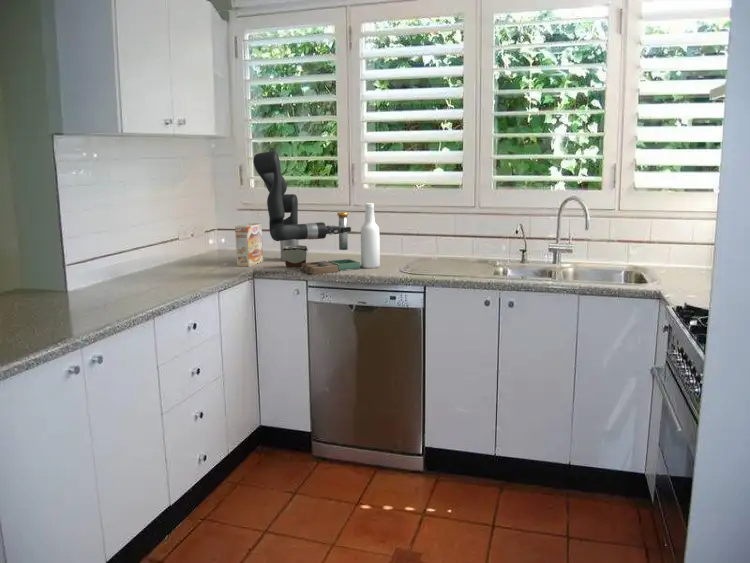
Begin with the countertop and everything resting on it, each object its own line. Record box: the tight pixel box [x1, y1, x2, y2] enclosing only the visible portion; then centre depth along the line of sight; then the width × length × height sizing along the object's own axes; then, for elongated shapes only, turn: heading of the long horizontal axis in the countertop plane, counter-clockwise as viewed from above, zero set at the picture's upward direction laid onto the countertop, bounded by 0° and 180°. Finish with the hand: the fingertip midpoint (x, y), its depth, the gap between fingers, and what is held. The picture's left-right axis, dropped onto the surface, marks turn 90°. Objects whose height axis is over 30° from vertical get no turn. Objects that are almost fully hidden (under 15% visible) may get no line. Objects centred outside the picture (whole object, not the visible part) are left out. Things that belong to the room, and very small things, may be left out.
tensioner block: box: [301, 260, 339, 275], centre depth 309 cm, size 15×12×4 cm
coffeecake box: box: [234, 222, 264, 267], centre depth 330 cm, size 15×7×20 cm, turn 161°
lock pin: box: [336, 211, 349, 251], centre depth 313 cm, size 5×5×17 cm
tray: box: [327, 258, 361, 271], centre depth 316 cm, size 12×11×3 cm
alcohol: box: [360, 202, 381, 269], centre depth 315 cm, size 9×9×30 cm
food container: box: [282, 244, 309, 269], centre depth 321 cm, size 12×6×10 cm, turn 84°
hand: (348, 228), depth 314 cm, fingers closed on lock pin, 4 cm apart
